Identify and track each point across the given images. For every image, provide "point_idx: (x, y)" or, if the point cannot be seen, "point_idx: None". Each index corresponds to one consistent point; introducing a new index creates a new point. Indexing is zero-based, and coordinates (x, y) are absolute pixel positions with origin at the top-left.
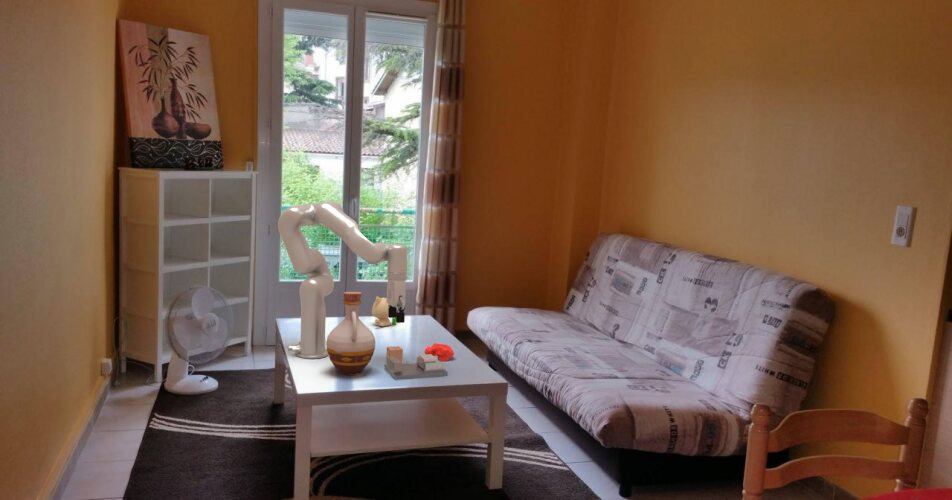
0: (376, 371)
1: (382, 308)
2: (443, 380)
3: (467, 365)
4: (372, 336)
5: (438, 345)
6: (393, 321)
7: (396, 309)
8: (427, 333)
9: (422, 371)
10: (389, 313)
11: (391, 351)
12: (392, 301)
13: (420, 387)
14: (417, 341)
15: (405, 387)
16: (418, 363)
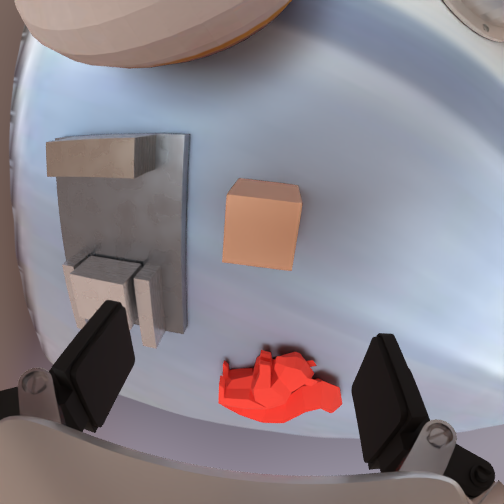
0: (171, 92)
1: None
2: (50, 273)
3: (170, 390)
4: (40, 36)
5: (301, 407)
6: None
7: (362, 449)
8: (478, 408)
9: (82, 245)
10: (384, 367)
11: (227, 198)
12: (11, 493)
13: (11, 189)
14: (453, 378)
15: (14, 148)
16: (137, 267)
